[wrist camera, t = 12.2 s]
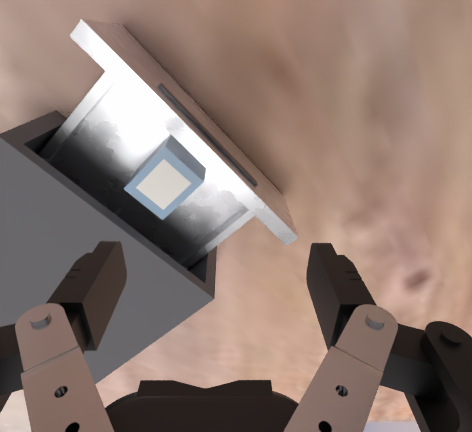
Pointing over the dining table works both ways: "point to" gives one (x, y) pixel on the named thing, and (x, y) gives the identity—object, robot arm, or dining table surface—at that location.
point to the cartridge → (166, 178)
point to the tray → (147, 141)
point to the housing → (84, 251)
